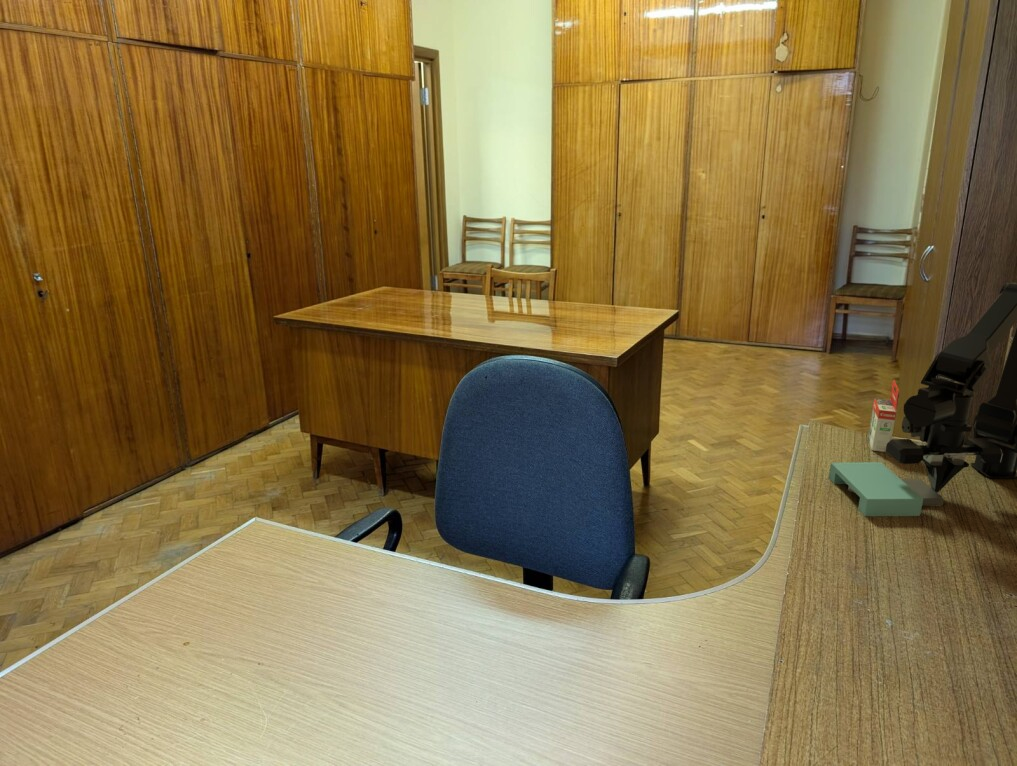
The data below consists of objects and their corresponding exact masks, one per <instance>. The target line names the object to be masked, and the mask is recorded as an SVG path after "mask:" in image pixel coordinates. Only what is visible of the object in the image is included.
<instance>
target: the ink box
mask: <svg viewBox="0 0 1017 766" xmlns="http://www.w3.org/2000/svg"><path fill="white" fill-rule="evenodd" d="M900 392H901V391H900V389H899V387H898V385H897V382H896V380H895V379H893V380H892V386H891V395H890V399H887V398H874V399H873V405H872V412H871V418H870V423H869V428H868V434H869V435H868V434H867V440H868V442H869V446H870V449H871V451H872V452H873V451H874V452H881V453H886V452H885V451H886V445H887V443H888V442H889V441H890V440H891V439H893V432H894V428H895V427H894V426H895V423H896V417H897V412H898V411H897V410H898V407H899V400H900Z"/></svg>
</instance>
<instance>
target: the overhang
mask: <svg viewBox="0 0 1017 766" xmlns="http://www.w3.org/2000/svg"><path fill="white" fill-rule="evenodd" d="M828 479H829V480H830V482H831V483H832V484H833V485H840V484H841V485H842V484H843V485H848V489H847V490H848V491H849V492H852V493H855V494H856V495H857V496H858V497H859V500H858V501H859V502H858V506H857V507H858V509H857V511H859V512H860V513H861V514H862V515H863V517H920V516H921V513H922V508H923V506H922V503H923V498H922V497H921V496H920V495H918V494H917V493H916V492H915V491H914V490H913V489H911V488H910V487H909V486H908V485H907V484H906V483H904V482H903V481H902V480H901V479H902V478H900V477H898V476H897V475H896V474H895V473H894V472H893V471H892V470H891V469H889V468H888V466H886V465H884V464H883V463H882V462H881V461H879V462H877V461H876V462H875V461H873V462H872V461H870V462H869V461H868V462H867V461H865V462H864V461H863V462H854V461H853V462H849V461H848V462H830V466H829V473H828Z"/></svg>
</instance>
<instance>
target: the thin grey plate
mask: <svg viewBox="0 0 1017 766" xmlns="http://www.w3.org/2000/svg"><path fill="white" fill-rule="evenodd" d="M900 479H901V480H902V481H903V482H904V483H906V484H907V485H908V486H909V487H910V488H911V489H913V490H914V491H915V492H916V493H917V494H918V495H920V496H921V497H922V498H923V503H922V507H923V506H930V507H931V506H940V507H941V506H943V505H944V501H945V500H944V499H945V498H944V497H943V496H942V495H940V494H939V492H936V491H934V490H933V489H932V488H931V485H928V483H926V482H925V481H924V480H923V479H921V478H900Z"/></svg>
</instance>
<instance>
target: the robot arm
mask: <svg viewBox="0 0 1017 766" xmlns="http://www.w3.org/2000/svg"><path fill="white" fill-rule="evenodd" d="M1015 324H1017V282H1009V283H1004V285H1003V286H1002V287H1001V289H1000V291H999V294H998V296H997V297H996V299H995V300H994V301H993V303H992V304H991V305H990V306H989V308H987V310H986V311H985V312H984V313H983V314H982V316H980V318H979V319H978V320H977V322H976V323H975V324H974V325H973V327H972V328H971V329H970V330H969V332H967V333H966V334H965V335H964V336H961V337H958V338H956V339H953V340H952V341H950V342H949V343H948V344H947V345H946V346H944V348H942V350H940V351H939V352H938V353H937V354H936V356H935V357H934V359H933V360H932V362H931V364H930V366H929V367H928V369H927V371H926V373H925V374H924V376H923V378H922V379H921V381H920V384H921V385H924V386H927V387H920V388H919V389H917V394H914V395H912V396H910V397H908V398H907V399H906V401H905V402H904V404H903V414H904V416H903V418H902V422H901V431H902V433H905V434H910V438H917V437H918V438H919V440H918V441H921V442H922V443H925V445H924V444H921V445H920V444H919V445H918V444H917V443H916V442H914V441H913V440H911V439H910V438H891V440H890V441H889V442H888V443H887V445H886V451H885V452H884V453H886V454H887V455H888V456H890V457H891V458H892V459H894V461H896V462H898V463H899V464H903V465H918V464H919V463H921V462H922V463H924V465H925V466H924V467H925V468H926V471H927V475H928V476H927V477H928V479H929V483H930V485H929V486H930V487H931V488H932V489H933V490H934V491H936V492H937V493H940V491H941V490H942V489H943V488H944V487H945V486H946V485H947V484H948V483H949V482H950V481H951V480H952V479H953V478H954V477H955V476H957V474H958V473H960V472H961V471H962V470H963V469H964V468H969V466H970V467H971V466H972V468H974V469H976V470H977V471H978V472H980V473H981V474H983V475H984V476H986V477H987V478H988V479H1017V326H1016V327H1015V331H1014V334H1013V336H1012V340H1011V344H1010V346H1009V349H1008V353H1007V356H1006V360H1005V363H1004V366H1003V369H1002V372H1001V375H1000V377H999V382H998V384H997V388H996V391H995V394H994V395H993V396H992V397H991V398H990V399H988V400H987V401H986V402H985V401H983V402H981V404H979V407H978V412H977V414H976V416H975V417H974V420H973V426H972V425H970V424H968V422H969V418H970V412H971V407H972V405H973V404H972V403H973V399H974V393H976V392H979V391H980V384H981V383H982V381H983V380H984V379H985V377H986V376H987V375H988V372H989V369H990V367H991V366H992V356H991V355H992V353H993V351H994V350H995V348H996V347H997V346H998V345H999V344H1000V342H1001V341H1002V340H1003V339H1004V337H1006V335H1007V334H1008V333H1009V332H1010V330H1011V329H1012V328H1013V327H1014V325H1015ZM937 376H938V377H937ZM950 380H951V381H950ZM972 428H973V438H971V437H969V438H966V433H968V432H969V433H971V432H972ZM966 456H975V459H974V460H975V461H974V462H971V463H970V464H969V462H967V461H966Z"/></svg>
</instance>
